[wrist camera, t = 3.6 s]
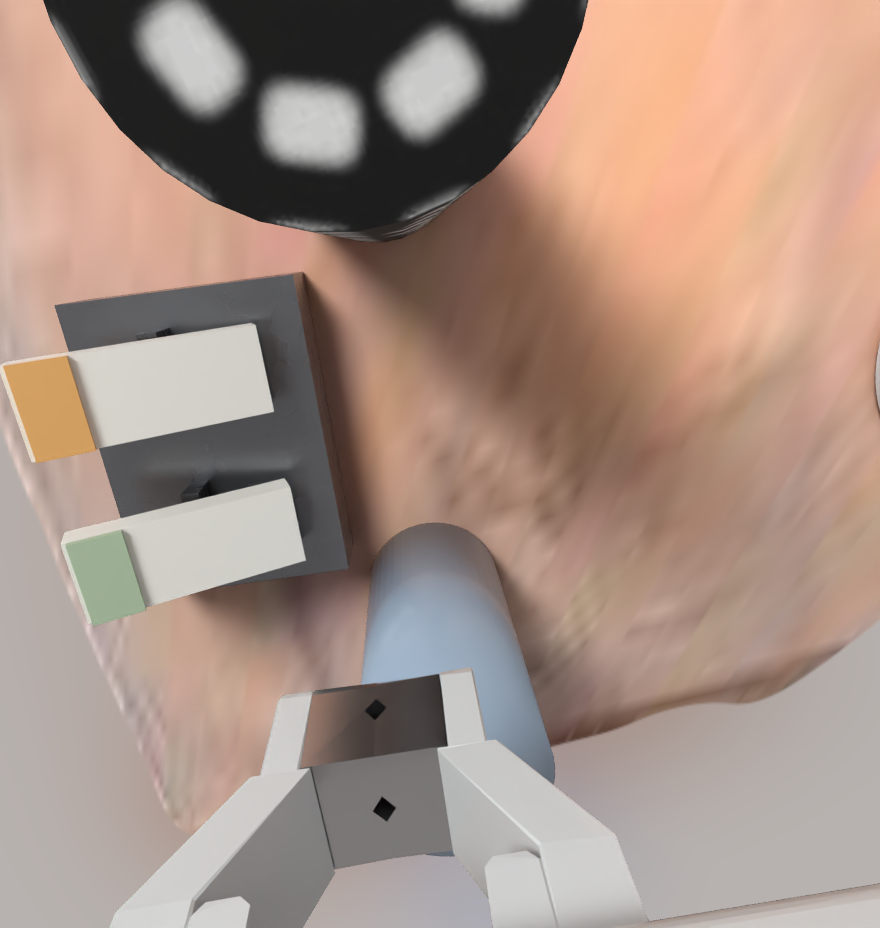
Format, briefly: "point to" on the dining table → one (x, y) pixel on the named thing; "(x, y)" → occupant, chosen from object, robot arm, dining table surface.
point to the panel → (238, 441)
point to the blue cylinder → (453, 632)
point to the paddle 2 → (182, 549)
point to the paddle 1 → (136, 390)
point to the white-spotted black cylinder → (324, 98)
